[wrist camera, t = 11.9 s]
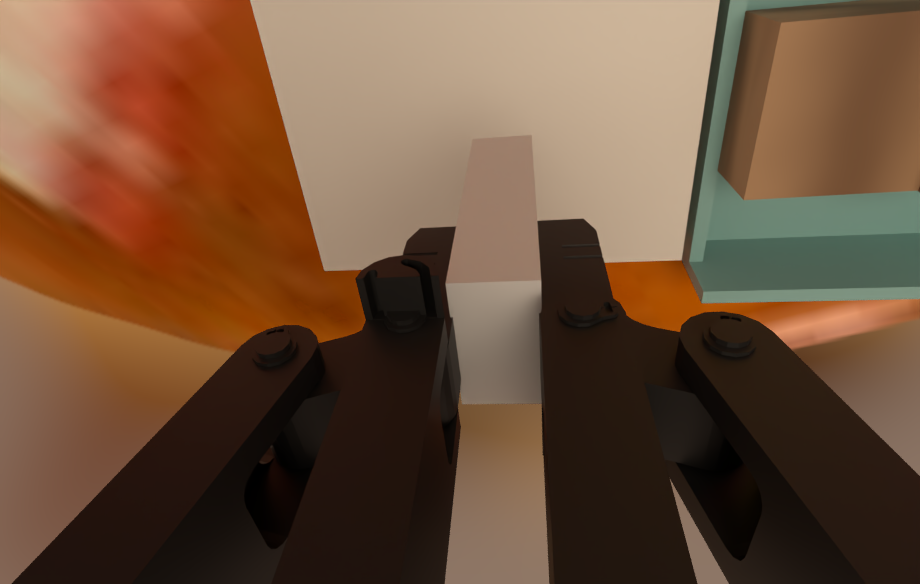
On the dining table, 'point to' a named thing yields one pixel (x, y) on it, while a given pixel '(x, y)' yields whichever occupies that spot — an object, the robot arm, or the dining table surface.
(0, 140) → the dining table surface
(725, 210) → the tray
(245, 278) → the dining table surface
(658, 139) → the board
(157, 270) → the dining table surface
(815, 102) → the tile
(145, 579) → the robot arm
